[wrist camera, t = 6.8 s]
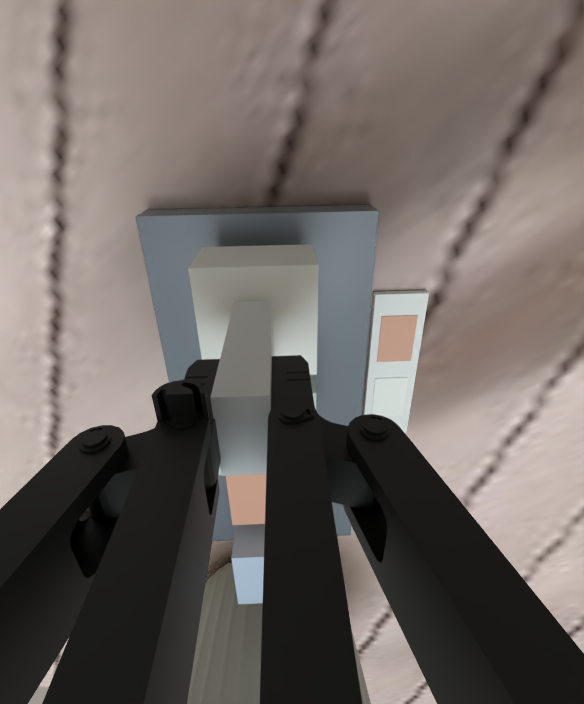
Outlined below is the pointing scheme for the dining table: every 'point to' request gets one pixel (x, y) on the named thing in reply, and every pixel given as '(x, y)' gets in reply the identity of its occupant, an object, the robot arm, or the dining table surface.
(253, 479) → the key terracotta
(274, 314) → the key ivory
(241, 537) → the key blue
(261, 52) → the dining table surface
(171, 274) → the keypad board
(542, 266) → the dining table surface
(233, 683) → the canister
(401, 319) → the card
